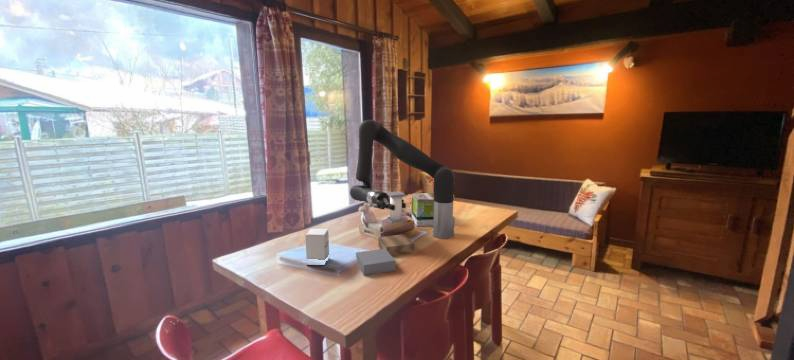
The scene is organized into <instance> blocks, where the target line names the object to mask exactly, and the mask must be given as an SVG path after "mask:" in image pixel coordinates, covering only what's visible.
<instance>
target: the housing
mask: <svg viewBox="0 0 794 360" xmlns="http://www.w3.org/2000/svg"><path fill="white" fill-rule="evenodd" d="M386 193H387V195H388V196H390V204H393V205H395V210H390V209H389V216H386V220H387V221H388V222H389V223H390V224H400V223H406V219H405V218H404V217H403V208H402V199H403V197H406V193H404V192H403V191H400V190H398V191H387V192H386Z"/></svg>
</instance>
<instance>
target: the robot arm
mask: <svg viewBox="0 0 794 360" xmlns="http://www.w3.org/2000/svg"><path fill="white" fill-rule="evenodd" d="M374 141H375V142H377V143H379V144H381V145H382V146H383V147H385V148H386V149H387V150H388V151H389V153H391V154H392V155H393V156H394V157H395V158H396V159H398V160H399V161H401V162H403V163H404V164H406V165H408V166H409V167H412V168H415V169H417V170H418V171H422V172H424V173H426V174H427V175H428V176H430V177H431V178H433V198H434V215H433V226H432V236H433V237H435V238H437V239H442V240H443V239H444V240H446V239H450V238H452V237H455V219H456V218H455V217H454V200H455V199H454V197H455V196H454V193H455V192H454V190H455V173H454V170H453V169H452V168H450V167H448V166H447V165H444V164H443V163H440V162H438V161H437V160H435V159H433V158H431V157H430V156H429V155H428V154H426V153H425V152H423V151H422V150H421V149H419V148H418V147H416V146H415V145H413V144H412V143H410V142H408V141H407V140H406V139H403V138H402V137H400V136H398V135H396V134H394V133H392V132H391V131H389V130H388V129H387V128H386V127H384V126H383V125H382V124H381V123H380V122H378V121H377V120H375V119H365V120H363V121H362V122H360V124H359V126H358V159H357V165H356V166H357V167H356V171H355V172H356V173H355V179H356V180H357V181H358V182H362V184H361V185H359V184H357V185H353V186H351V188H350V190H349V194H350V195H349V196H350V197H351V198H352V200H354V201H358V202H365V203H367V204H369V205H370V206H372V207H373V208H376V209H379V210H385V209H386V210H389V211H390V210H395V205H393V204H390V196H388V195H387V192H384V191H381V190H378V189H375V188H372V185H371V173H372V167H373V166H372V165H373V164H372V163H373V159H372V149H373V144H374ZM404 201H405V200H404V199H403V198H402V209H406V208H407V205H406V203H405V202H404Z"/></svg>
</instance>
